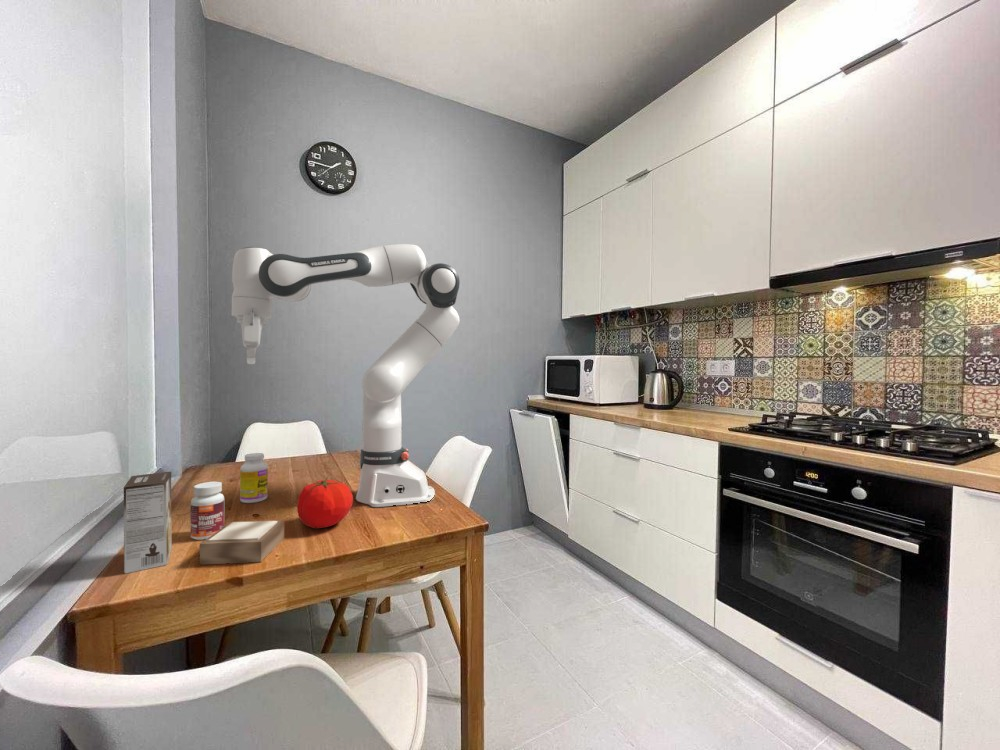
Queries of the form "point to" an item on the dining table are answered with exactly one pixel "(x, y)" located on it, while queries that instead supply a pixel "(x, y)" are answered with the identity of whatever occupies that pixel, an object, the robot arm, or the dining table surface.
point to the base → (242, 542)
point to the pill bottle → (207, 510)
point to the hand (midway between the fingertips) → (251, 364)
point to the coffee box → (147, 521)
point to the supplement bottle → (253, 479)
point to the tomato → (324, 503)
